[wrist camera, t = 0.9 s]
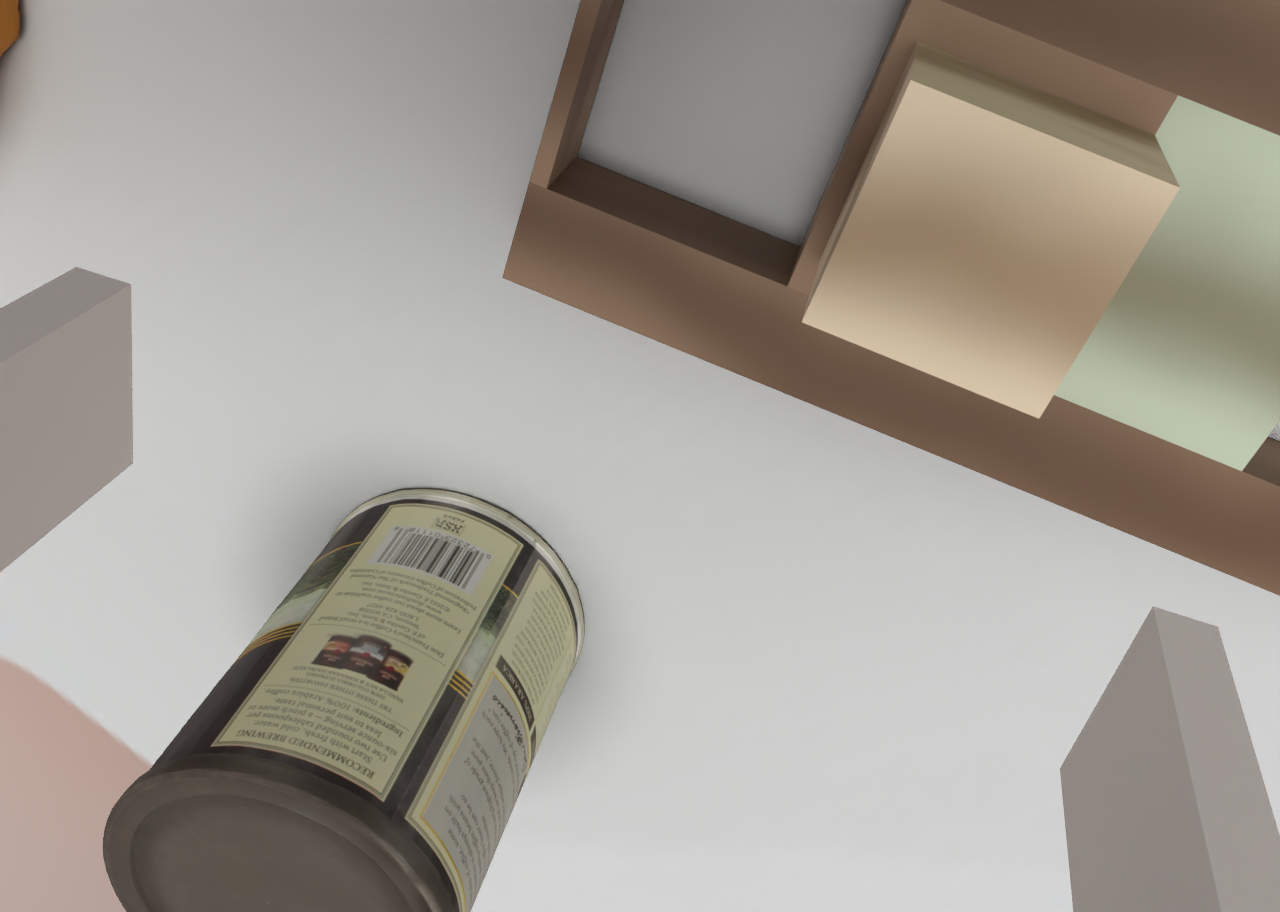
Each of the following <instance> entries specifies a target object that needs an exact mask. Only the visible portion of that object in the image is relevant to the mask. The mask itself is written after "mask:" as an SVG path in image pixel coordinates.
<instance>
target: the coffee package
mask: <svg viewBox="0 0 1280 912" xmlns="http://www.w3.org/2000/svg"><path fill="white" fill-rule="evenodd" d="M18 2H19V0H0V58H1V56H2V54H3V52H4V51H5V50H7V49H8V48H9V47H10V45H11V44H12V43H13V42H14V41H16V40H17V38H18V34H19V20H20V12H19V10H18Z"/></svg>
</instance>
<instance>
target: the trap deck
mask: <svg viewBox="0 0 1280 912" xmlns="http://www.w3.org/2000/svg"><path fill="white" fill-rule="evenodd" d="M623 3H624V0H581V2H580V5H579V9H578V12H577V16H576V19H575V23H574V26H573V30H572V33H571V37H570V40H569V44H568V48H567V51H566V55H565V58H564V62H563V65H562V69H561V72H560V76H559V79H558V83H557V86H556V90H555V93H554V97H553V101H552V104H551V108H550V111H549V115H548V118H547V122H546V125H545V129H544V132H543V136H542V139H541V143H540V146H539V150H538V154H537V157H536V161H535V164H534V168H533V171H532V175H531V178H530V182H529V185H528V189H527V192H526V196H525V199H524V203H523V207H522V210H521V214H520V217H519V221H518V224H517V228H516V231H515V235H514V238H513V242H512V245H511V249H510V252H509V256H508V260H507V263H506V267H505V270H504V274H503V277H502V278H504V279H507V280H509V281H512V282H514V283H517V284H519V285H522V286H524V287H526V288H529V289H531V290H534V291H536V292H539V293H541V294H544V295H546V296H548V297H551V298H553V299H556V300H558V301H561V302H563V303H566V304H568V305H570V306H573V307H575V308H578V309H580V310H583V311H585V312H588V313H590V314H592V315H595V316H597V317H600V318H602V319H605V320H607V321H610V322H612V323H614V324H617V325H619V326H622V327H624V328H627V329H629V330H632V331H634V332H636V333H639V334H641V335H644V336H646V337H649V338H651V339H654V340H656V341H658V342H661V343H663V344H666V345H668V346H671V347H673V348H676V349H678V350H681V351H683V352H685V353H688V354H690V355H693V356H695V357H698V358H700V359H703V360H705V361H707V362H710V363H712V364H715V365H717V366H720V367H722V368H725V369H727V370H729V371H732V372H734V373H737V374H739V375H742V376H744V377H747V378H749V379H751V380H754V381H756V382H759V383H761V384H764V385H766V386H769V387H771V388H773V389H776V390H778V391H781V392H783V393H786V394H788V395H791V396H793V397H795V398H798V399H800V400H803V401H805V402H808V403H810V404H813V405H815V406H817V407H820V408H822V409H825V410H827V411H830V412H832V413H835V414H837V415H839V416H842V417H844V418H847V419H849V420H852V421H854V422H857V423H859V424H861V425H864V426H866V427H869V428H871V429H874V430H876V431H879V432H881V433H884V434H886V435H888V436H891V437H893V438H896V439H898V440H901V441H903V442H906V443H908V444H910V445H913V446H915V447H918V448H920V449H923V450H925V451H928V452H930V453H932V454H935V455H937V456H940V457H942V458H945V459H947V460H950V461H952V462H954V463H957V464H959V465H962V466H964V467H967V468H969V469H972V470H974V471H976V472H979V473H981V474H984V475H986V476H989V477H991V478H994V479H996V480H998V481H1001V482H1003V483H1006V484H1008V485H1011V486H1013V487H1016V488H1018V489H1020V490H1023V491H1025V492H1028V493H1030V494H1033V495H1035V496H1038V497H1040V498H1042V499H1045V500H1047V501H1050V502H1052V503H1055V504H1057V505H1060V506H1062V507H1064V508H1067V509H1069V510H1072V511H1074V512H1077V513H1079V514H1082V515H1084V516H1087V517H1089V518H1091V519H1094V520H1096V521H1099V522H1101V523H1104V524H1106V525H1109V526H1111V527H1113V528H1116V529H1118V530H1121V531H1123V532H1126V533H1128V534H1131V535H1133V536H1135V537H1138V538H1140V539H1143V540H1145V541H1148V542H1150V543H1153V544H1155V545H1157V546H1160V547H1162V548H1165V549H1167V550H1170V551H1172V552H1175V553H1177V554H1179V555H1182V556H1184V557H1187V558H1189V559H1192V560H1194V561H1197V562H1199V563H1201V564H1204V565H1206V566H1209V567H1211V568H1214V569H1216V570H1219V571H1221V572H1223V573H1226V574H1228V575H1231V576H1233V577H1236V578H1238V579H1241V580H1243V581H1245V582H1248V583H1250V584H1253V585H1255V586H1258V587H1260V588H1263V589H1265V590H1267V591H1270V592H1272V593H1275V594H1277V595H1280V442H1279V441H1276V440H1274V439H1272V438H1269V437H1268V436H1269V434H1270V433H1271V432H1272V430H1273V429H1274V428H1275V426H1276V425H1277V424H1278V422H1279V421H1280V0H907V2H906V4H905V7H904V9H903V11H902V14H901V16H900V18H899V20H898V23H897V25H896V27H895V30H894V32H893V34H892V37H891V39H890V41H889V44H888V46H887V48H886V51H885V53H884V55H883V57H882V60H881V62H880V64H879V67H878V69H877V71H876V74H875V76H874V78H873V81H872V83H871V85H870V88H869V90H868V92H867V94H866V97H865V99H864V101H863V104H862V106H861V108H860V111H859V113H858V115H857V118H856V120H855V122H854V125H853V127H852V129H851V131H850V134H849V136H848V138H847V141H846V143H845V145H844V148H843V150H842V152H841V155H840V157H839V159H838V162H837V164H836V166H835V168H834V171H833V173H832V175H831V178H830V180H829V182H828V185H827V187H826V189H825V192H824V194H823V196H822V198H821V201H820V203H819V205H818V208H817V210H816V212H815V215H814V217H813V219H812V222H811V224H810V226H809V229H808V231H807V233H806V235H805V238H804V240H803V242H802V245H801V247H798V246H795V245H793V244H790V243H788V242H785V241H783V240H781V239H778V238H776V237H773V236H771V235H768V234H766V233H763V232H761V231H758V230H756V229H753V228H751V227H748V226H746V225H744V224H741V223H739V222H736V221H734V220H731V219H729V218H726V217H724V216H721V215H719V214H716V213H714V212H711V211H709V210H707V209H704V208H702V207H699V206H697V205H694V204H692V203H689V202H687V201H684V200H682V199H679V198H677V197H674V196H672V195H670V194H667V193H665V192H662V191H660V190H657V189H655V188H652V187H650V186H647V185H645V184H642V183H640V182H637V181H635V180H633V179H630V178H628V177H625V176H623V175H620V174H618V173H615V172H613V171H610V170H608V169H605V168H603V167H600V166H598V165H596V164H593V163H591V162H588V161H586V160H583V159H581V158H578V157H577V155H578V151H579V148H580V145H581V141H582V138H583V135H584V132H585V128H586V125H587V122H588V118H589V115H590V112H591V108H592V105H593V102H594V99H595V95H596V92H597V89H598V85H599V82H600V79H601V75H602V72H603V69H604V65H605V62H606V59H607V56H608V52H609V49H610V46H611V42H612V39H613V36H614V32H615V29H616V26H617V23H618V19H619V16H620V13H621V9H622V6H623ZM917 41H920V42H922V43H925V44H927V45H930V46H932V47H935V48H937V49H940V50H942V51H945V52H947V53H950V54H952V55H955V56H957V57H960V58H962V59H965V60H967V61H970V62H972V63H975V64H977V65H980V66H982V67H985V68H987V69H990V70H992V71H995V72H997V73H1000V74H1002V75H1005V76H1007V77H1010V78H1012V79H1015V80H1017V81H1020V82H1022V83H1025V84H1027V85H1030V86H1032V87H1035V88H1037V89H1040V90H1042V91H1045V92H1047V93H1050V94H1052V95H1055V96H1057V97H1060V98H1062V99H1065V100H1067V101H1070V102H1072V103H1075V104H1077V105H1080V106H1082V107H1085V108H1087V109H1090V110H1092V111H1095V112H1097V113H1100V114H1102V115H1105V116H1107V117H1110V118H1112V119H1115V120H1117V121H1120V122H1122V123H1125V124H1127V125H1130V126H1132V127H1135V128H1137V129H1140V130H1142V131H1145V132H1147V133H1150V134H1153V135H1155V137H1156V139H1157V141H1158V143H1159V145H1160V147H1161V149H1162V151H1163V153H1164V155H1165V158H1166V160H1167V162H1168V164H1169V166H1170V168H1171V170H1172V172H1173V174H1174V176H1175V178H1176V180H1177V182H1178V184H1179V186H1180V189H1179V191H1178V192H1177V194H1176V195H1175V197H1174V199H1173V200H1172V202H1171V204H1170V205H1169V207H1168V209H1167V210H1166V212H1165V214H1164V215H1163V217H1162V218H1161V220H1160V222H1159V223H1158V225H1157V227H1156V228H1155V230H1154V232H1153V233H1152V235H1151V236H1150V238H1149V240H1148V241H1147V243H1146V245H1145V246H1144V248H1143V250H1142V251H1141V253H1140V254H1139V256H1138V258H1137V259H1136V261H1135V263H1134V264H1133V266H1132V268H1131V269H1130V271H1129V273H1128V274H1127V276H1126V277H1125V279H1124V281H1123V282H1122V284H1121V286H1120V287H1119V289H1118V291H1117V292H1116V294H1115V295H1114V297H1113V299H1112V300H1111V302H1110V304H1109V305H1108V307H1107V309H1106V310H1105V312H1104V313H1103V315H1102V317H1101V318H1100V320H1099V322H1098V323H1097V325H1096V327H1095V328H1094V330H1093V332H1092V333H1091V335H1090V336H1089V338H1088V340H1087V341H1086V343H1085V345H1084V346H1083V348H1082V350H1081V351H1080V353H1079V354H1078V356H1077V358H1076V359H1075V361H1074V363H1073V364H1072V366H1071V368H1070V369H1069V371H1068V373H1067V374H1066V376H1065V377H1064V379H1063V381H1062V382H1061V384H1060V386H1059V387H1058V389H1057V391H1056V392H1055V394H1054V395H1053V397H1052V399H1051V400H1050V402H1049V404H1048V405H1047V407H1046V409H1045V410H1044V412H1043V413H1042V415H1041V417H1040V418H1039V419H1038V418H1036V417H1033V416H1031V415H1028V414H1026V413H1024V412H1021V411H1019V410H1016V409H1014V408H1011V407H1009V406H1006V405H1004V404H1001V403H999V402H996V401H994V400H992V399H989V398H987V397H984V396H982V395H979V394H977V393H974V392H972V391H969V390H967V389H965V388H962V387H960V386H957V385H955V384H952V383H950V382H947V381H945V380H942V379H940V378H938V377H935V376H933V375H930V374H928V373H925V372H923V371H920V370H918V369H915V368H913V367H910V366H908V365H906V364H903V363H901V362H898V361H896V360H893V359H891V358H888V357H886V356H883V355H881V354H879V353H876V352H874V351H871V350H869V349H866V348H864V347H861V346H859V345H856V344H854V343H852V342H849V341H847V340H844V339H842V338H839V337H837V336H834V335H832V334H829V333H827V332H825V331H822V330H820V329H817V328H815V327H812V326H810V325H807V324H805V323H802V319H803V316H804V312H805V309H806V305H807V302H808V298H809V295H810V291H811V288H812V284H813V281H814V277H815V274H816V270H817V267H818V263H819V260H820V258H821V256H822V254H823V251H824V249H825V247H826V245H827V242H828V240H829V238H830V236H831V233H832V231H833V229H834V227H835V224H836V222H837V220H838V218H839V215H840V213H841V211H842V209H843V206H844V204H845V202H846V200H847V197H848V195H849V193H850V191H851V188H852V186H853V184H854V182H855V179H856V177H857V175H858V173H859V170H860V168H861V166H862V164H863V161H864V159H865V157H866V155H867V153H868V150H869V148H870V146H871V144H872V141H873V139H874V137H875V135H876V132H877V130H878V128H879V126H880V123H881V121H882V119H883V117H884V114H885V112H886V110H887V108H888V105H889V103H890V101H891V99H892V96H893V94H894V92H895V90H896V87H897V85H898V83H899V81H900V78H901V76H902V74H903V72H904V69H905V67H906V65H907V63H908V60H909V58H910V56H911V54H912V51H913V49H914V47H915V45H916V43H917Z"/></svg>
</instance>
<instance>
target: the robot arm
mask: <svg viewBox="0 0 1280 912" xmlns="http://www.w3.org/2000/svg"><path fill="white" fill-rule="evenodd" d="M132 463H133V428H132V332H131V284H128V283H125V282H122V281H119V280H116V279H112V278H109V277H106V276H103V275H100V274H97V273H93V272H90V271H87V270H84V269H81V268H77V267H75V268H74V269H72V270H70V271H68V272H66V273H64V274H63V275H61V276H59V277H57V278H55V279H54V280H52V281H50V282H48V283H46V284H44V285H43V286H41V287H39V288H37V289H35V290H34V291H32V292H30V293H28V294H26V295H24V296H23V297H21V298H19V299H17V300H15V301H14V302H12V303H10V304H8V305H6V306H5V307H3V308H1V309H0V572H1V571H2V570H4V569H5V568H6V567H7V566H8V565H10V564H11V563H12V562H13V561H14V560H16V559H17V558H18V557H19V556H21V555H22V554H23V553H24V552H25V551H27V550H28V549H29V548H30V547H32V546H33V545H34V544H35V543H36V542H38V541H39V540H40V539H41V538H42V537H44V536H45V535H46V534H47V533H49V532H50V531H51V530H52V529H53V528H55V527H56V526H57V525H58V524H59V523H61V522H62V521H63V520H64V519H66V518H67V517H68V516H69V515H70V514H72V513H73V512H74V511H75V510H76V509H78V508H79V507H80V506H81V505H83V504H84V503H85V502H86V501H87V500H89V499H90V498H91V497H92V496H93V495H95V494H96V493H97V492H98V491H100V490H101V489H102V488H103V487H104V486H106V485H107V484H108V483H109V482H111V481H112V480H113V479H114V478H115V477H117V476H118V475H119V474H120V473H121V472H123V471H124V470H125V469H126V468H128V467H129V466H130V465H131V464H132ZM1060 773H1061V784H1062V795H1063V805H1064V816H1065V827H1066V837H1067V848H1068V858H1069V869H1070V880H1071V890H1072V901H1073V911H1074V912H1280V836H1279V832H1278V829H1277V825H1276V822H1275V819H1274V815H1273V812H1272V809H1271V805H1270V802H1269V798H1268V795H1267V792H1266V788H1265V785H1264V781H1263V778H1262V775H1261V771H1260V768H1259V765H1258V761H1257V758H1256V754H1255V751H1254V748H1253V744H1252V741H1251V737H1250V734H1249V731H1248V727H1247V724H1246V721H1245V717H1244V714H1243V710H1242V707H1241V704H1240V700H1239V697H1238V694H1237V690H1236V687H1235V683H1234V680H1233V677H1232V673H1231V670H1230V666H1229V663H1228V660H1227V656H1226V653H1225V650H1224V646H1223V643H1222V639H1221V636H1220V633H1219V629H1218V627H1217V626H1213V625H1210V624H1207V623H1204V622H1201V621H1198V620H1194V619H1191V618H1188V617H1185V616H1182V615H1178V614H1175V613H1172V612H1169V611H1166V610H1163V609H1159V608H1156V607H1152V609H1151V611H1150V612H1149V614H1148V616H1147V618H1146V619H1145V621H1144V623H1143V625H1142V626H1141V628H1140V630H1139V632H1138V633H1137V635H1136V637H1135V639H1134V640H1133V642H1132V644H1131V646H1130V647H1129V649H1128V651H1127V653H1126V654H1125V656H1124V658H1123V660H1122V661H1121V663H1120V665H1119V667H1118V668H1117V670H1116V672H1115V674H1114V675H1113V677H1112V679H1111V681H1110V682H1109V684H1108V686H1107V688H1106V689H1105V691H1104V693H1103V695H1102V696H1101V698H1100V700H1099V702H1098V703H1097V705H1096V707H1095V709H1094V710H1093V712H1092V714H1091V715H1090V717H1089V719H1088V721H1087V722H1086V724H1085V726H1084V728H1083V729H1082V731H1081V733H1080V735H1079V736H1078V738H1077V740H1076V742H1075V743H1074V745H1073V747H1072V749H1071V750H1070V752H1069V754H1068V756H1067V757H1066V759H1065V761H1064V763H1063V764H1062V766H1061V768H1060Z"/></svg>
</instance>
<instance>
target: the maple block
mask: <svg viewBox="0 0 1280 912" xmlns="http://www.w3.org/2000/svg"><path fill="white" fill-rule="evenodd" d="M1179 189H1180V186H1179V184H1178V182H1177V180H1176V178H1175V176H1174V174H1173V172H1172V170H1171V168H1170V166H1169V164H1168V162H1167V160H1166V158H1165V155H1164V153H1163V151H1162V149H1161V147H1160V145H1159V143H1158V141H1157V139H1156V137H1155V135H1153V134H1150V133H1147V132H1145V131H1142V130H1140V129H1137V128H1135V127H1132V126H1130V125H1127V124H1125V123H1122V122H1120V121H1117V120H1115V119H1112V118H1110V117H1107V116H1105V115H1102V114H1100V113H1097V112H1095V111H1092V110H1090V109H1087V108H1085V107H1082V106H1080V105H1077V104H1075V103H1072V102H1070V101H1067V100H1065V99H1062V98H1060V97H1057V96H1055V95H1052V94H1050V93H1047V92H1045V91H1042V90H1040V89H1037V88H1035V87H1032V86H1030V85H1027V84H1025V83H1022V82H1020V81H1017V80H1015V79H1012V78H1010V77H1007V76H1005V75H1002V74H1000V73H997V72H995V71H992V70H990V69H987V68H985V67H982V66H980V65H977V64H975V63H972V62H970V61H967V60H965V59H962V58H960V57H957V56H955V55H952V54H950V53H947V52H945V51H942V50H940V49H937V48H935V47H932V46H930V45H927V44H925V43H922V42H920V41H917V43H916V45H915V47H914V49H913V51H912V54H911V56H910V58H909V60H908V63H907V65H906V67H905V69H904V72H903V74H902V76H901V78H900V81H899V83H898V85H897V87H896V90H895V92H894V94H893V96H892V99H891V101H890V103H889V105H888V108H887V110H886V112H885V114H884V117H883V119H882V121H881V123H880V126H879V128H878V130H877V132H876V135H875V137H874V139H873V141H872V144H871V146H870V148H869V150H868V153H867V155H866V157H865V159H864V161H863V164H862V166H861V168H860V170H859V173H858V175H857V177H856V179H855V182H854V184H853V186H852V188H851V191H850V193H849V195H848V197H847V200H846V202H845V204H844V206H843V209H842V211H841V213H840V215H839V218H838V220H837V222H836V224H835V227H834V229H833V231H832V233H831V236H830V238H829V240H828V242H827V245H826V247H825V249H824V251H823V254H822V256H821V258H820V260H819V263H818V267H817V270H816V274H815V277H814V281H813V284H812V288H811V291H810V295H809V298H808V302H807V305H806V309H805V312H804V316H803V319H802V323H805V324H807V325H810V326H812V327H815V328H817V329H820V330H822V331H825V332H827V333H829V334H832V335H834V336H837V337H839V338H842V339H844V340H847V341H849V342H852V343H854V344H856V345H859V346H861V347H864V348H866V349H869V350H871V351H874V352H876V353H879V354H881V355H883V356H886V357H888V358H891V359H893V360H896V361H898V362H901V363H903V364H906V365H908V366H910V367H913V368H915V369H918V370H920V371H923V372H925V373H928V374H930V375H933V376H935V377H938V378H940V379H942V380H945V381H947V382H950V383H952V384H955V385H957V386H960V387H962V388H965V389H967V390H969V391H972V392H974V393H977V394H979V395H982V396H984V397H987V398H989V399H992V400H994V401H996V402H999V403H1001V404H1004V405H1006V406H1009V407H1011V408H1014V409H1016V410H1019V411H1021V412H1024V413H1026V414H1028V415H1031V416H1033V417H1036V418H1038V419H1039V418H1040V417H1041V415H1042V413H1043V412H1044V410H1045V409H1046V407H1047V405H1048V404H1049V402H1050V400H1051V399H1052V397H1053V395H1054V394H1055V392H1056V391H1057V389H1058V387H1059V386H1060V384H1061V382H1062V381H1063V379H1064V377H1065V376H1066V374H1067V373H1068V371H1069V369H1070V368H1071V366H1072V364H1073V363H1074V361H1075V359H1076V358H1077V356H1078V354H1079V353H1080V351H1081V350H1082V348H1083V346H1084V345H1085V343H1086V341H1087V340H1088V338H1089V336H1090V335H1091V333H1092V332H1093V330H1094V328H1095V327H1096V325H1097V323H1098V322H1099V320H1100V318H1101V317H1102V315H1103V313H1104V312H1105V310H1106V309H1107V307H1108V305H1109V304H1110V302H1111V300H1112V299H1113V297H1114V295H1115V294H1116V292H1117V291H1118V289H1119V287H1120V286H1121V284H1122V282H1123V281H1124V279H1125V277H1126V276H1127V274H1128V273H1129V271H1130V269H1131V268H1132V266H1133V264H1134V263H1135V261H1136V259H1137V258H1138V256H1139V254H1140V253H1141V251H1142V250H1143V248H1144V246H1145V245H1146V243H1147V241H1148V240H1149V238H1150V236H1151V235H1152V233H1153V232H1154V230H1155V228H1156V227H1157V225H1158V223H1159V222H1160V220H1161V218H1162V217H1163V215H1164V214H1165V212H1166V210H1167V209H1168V207H1169V205H1170V204H1171V202H1172V200H1173V199H1174V197H1175V195H1176V194H1177V192H1178V191H1179Z"/></svg>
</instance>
